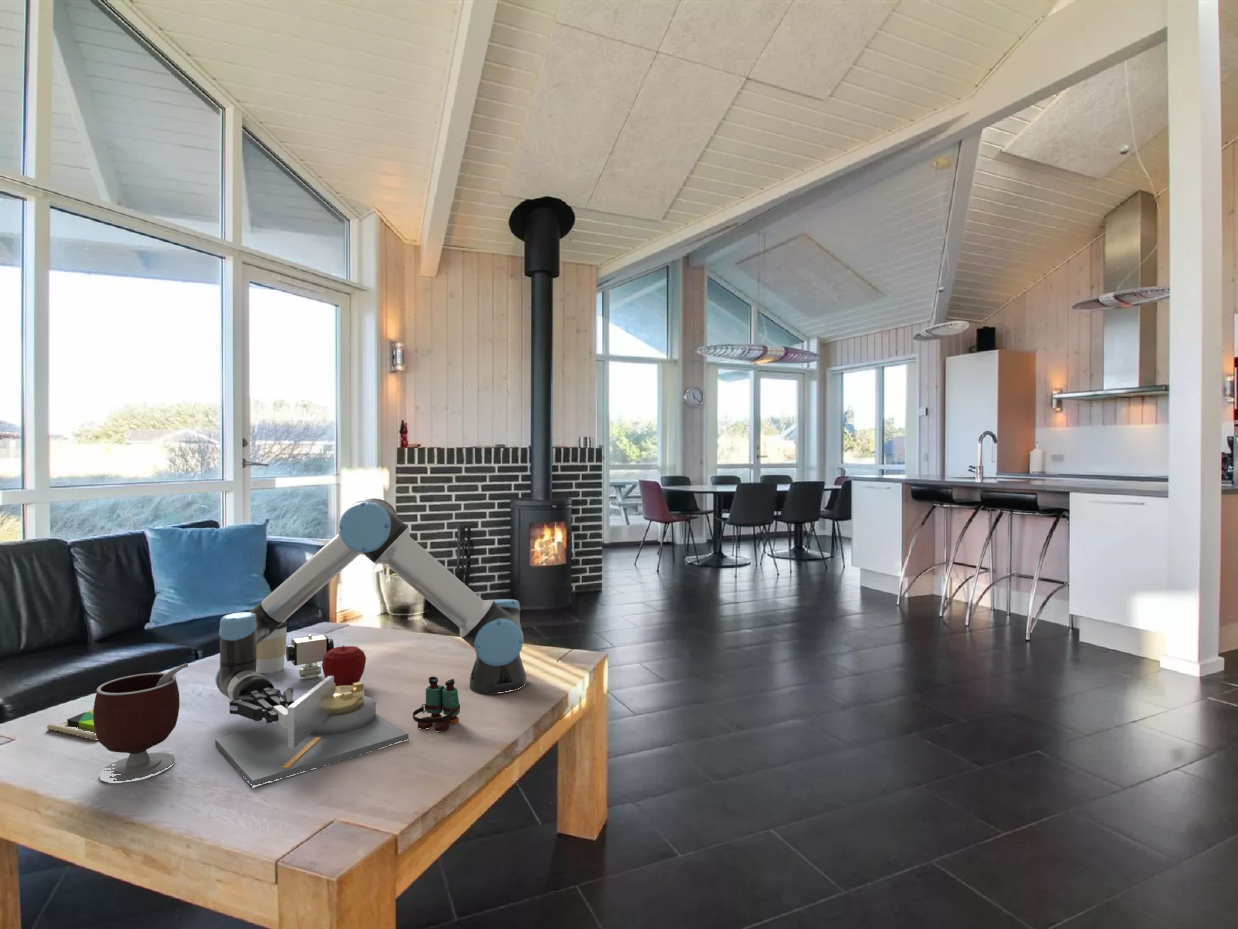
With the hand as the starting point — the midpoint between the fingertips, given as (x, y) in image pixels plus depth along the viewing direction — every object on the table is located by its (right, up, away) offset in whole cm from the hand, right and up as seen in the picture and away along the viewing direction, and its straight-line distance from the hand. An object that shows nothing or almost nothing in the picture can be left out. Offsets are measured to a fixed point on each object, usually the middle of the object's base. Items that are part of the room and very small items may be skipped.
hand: (288, 720), depth 135 cm
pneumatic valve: (-21, -9, +55) cm, 60 cm away
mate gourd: (-29, -9, -1) cm, 30 cm away
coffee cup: (-35, -9, +62) cm, 72 cm away
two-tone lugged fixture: (+2, -4, +11) cm, 12 cm away
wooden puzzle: (-52, -10, +24) cm, 58 cm away
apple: (-7, -9, +46) cm, 47 cm away
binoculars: (+24, -9, +20) cm, 33 cm away
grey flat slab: (0, -9, +11) cm, 14 cm away
